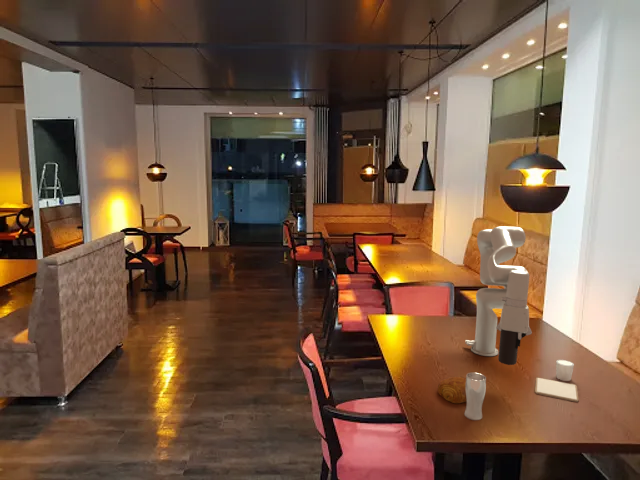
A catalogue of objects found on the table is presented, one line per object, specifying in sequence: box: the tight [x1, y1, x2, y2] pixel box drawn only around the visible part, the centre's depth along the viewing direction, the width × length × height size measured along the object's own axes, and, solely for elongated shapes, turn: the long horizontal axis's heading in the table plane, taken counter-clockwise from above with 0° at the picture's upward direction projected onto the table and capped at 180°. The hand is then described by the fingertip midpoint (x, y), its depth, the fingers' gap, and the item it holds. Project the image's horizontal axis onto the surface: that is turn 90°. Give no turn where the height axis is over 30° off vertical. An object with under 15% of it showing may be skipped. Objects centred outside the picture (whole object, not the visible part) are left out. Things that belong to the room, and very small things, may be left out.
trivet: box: [534, 376, 579, 403], centre depth 190 cm, size 15×15×1 cm
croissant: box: [437, 376, 466, 404], centre depth 184 cm, size 14×16×8 cm
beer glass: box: [464, 372, 487, 421], centre depth 168 cm, size 7×7×15 cm
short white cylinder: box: [555, 359, 575, 382], centre depth 201 cm, size 7×7×7 cm
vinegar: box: [497, 329, 519, 366], centre depth 186 cm, size 7×7×20 cm
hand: (512, 346), depth 186 cm, fingers closed on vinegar, 2 cm apart
